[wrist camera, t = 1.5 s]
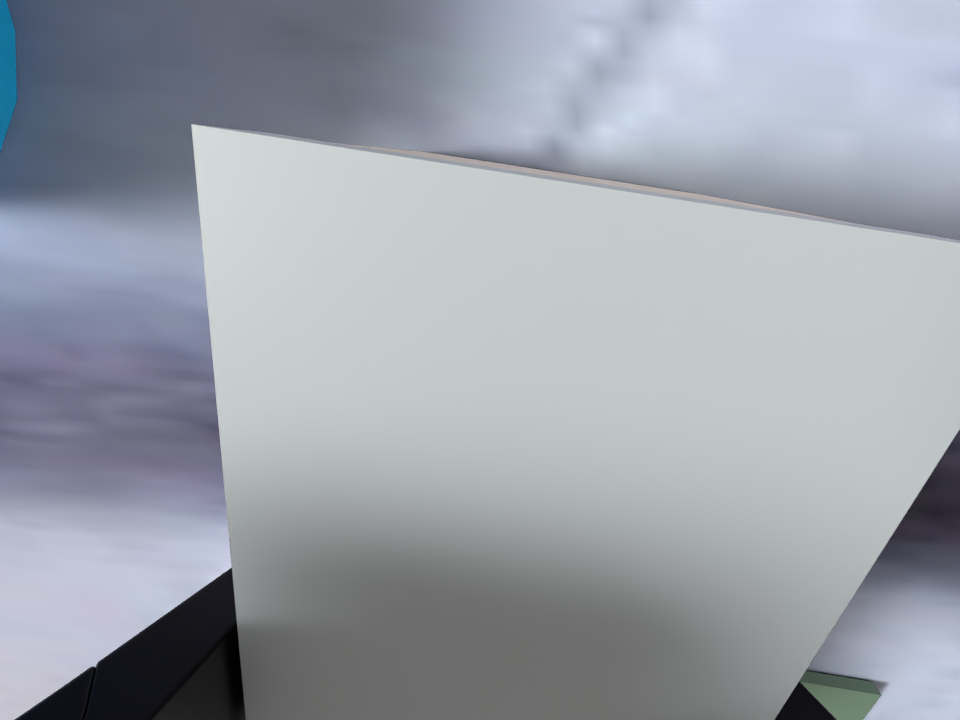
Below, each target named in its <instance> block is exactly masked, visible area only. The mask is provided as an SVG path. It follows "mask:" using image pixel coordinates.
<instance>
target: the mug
mask: <svg viewBox="0 0 960 720" xmlns="http://www.w3.org/2000/svg"><path fill="white" fill-rule="evenodd" d="M16 102H17V82H16V42H15V29H14V26H13V22H12V18H11V15H10V11H9V8H8V4H7V1H6V0H0V151H1V148H2V145H3V142H4V139H5V136H6V133H7V130H8V126H9V123H10V120H11V117H12V114H13V111H14V108H15V105H16Z"/></svg>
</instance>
